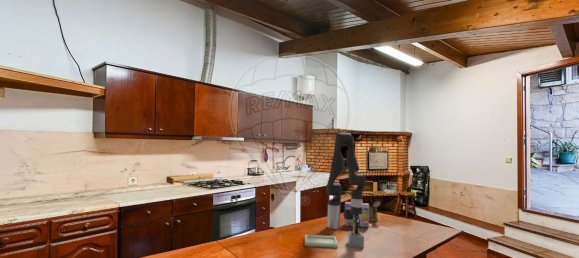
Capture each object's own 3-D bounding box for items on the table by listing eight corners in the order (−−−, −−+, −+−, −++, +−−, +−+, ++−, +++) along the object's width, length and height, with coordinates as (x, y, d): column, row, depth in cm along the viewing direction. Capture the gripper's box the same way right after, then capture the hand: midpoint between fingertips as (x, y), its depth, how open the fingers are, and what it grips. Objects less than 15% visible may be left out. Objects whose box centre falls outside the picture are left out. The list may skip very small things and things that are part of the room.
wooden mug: (372, 223, 237) (373, 200, 238) (364, 218, 251) (365, 197, 251) (382, 223, 239) (383, 200, 240) (374, 218, 253) (374, 197, 253)
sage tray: (305, 238, 196) (305, 234, 196) (335, 240, 195) (335, 236, 195) (304, 246, 182) (304, 242, 182) (337, 248, 181) (337, 243, 181)
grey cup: (347, 242, 191) (348, 231, 192) (361, 243, 191) (361, 232, 191) (349, 247, 183) (349, 235, 183) (363, 247, 182) (363, 236, 182)
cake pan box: (343, 225, 230) (343, 202, 230) (343, 223, 234) (344, 201, 235) (368, 228, 224) (369, 204, 225) (368, 226, 229) (369, 203, 229)
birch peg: (351, 243, 189) (352, 223, 189) (358, 244, 189) (358, 223, 189) (352, 246, 185) (353, 225, 185) (359, 246, 185) (359, 225, 185)
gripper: (349, 202, 195) (348, 229, 194) (352, 207, 181) (351, 236, 180) (360, 203, 194) (359, 229, 194) (364, 208, 180) (363, 236, 180)
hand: (355, 232), depth 187 cm, fingers closed on birch peg, 4 cm apart
